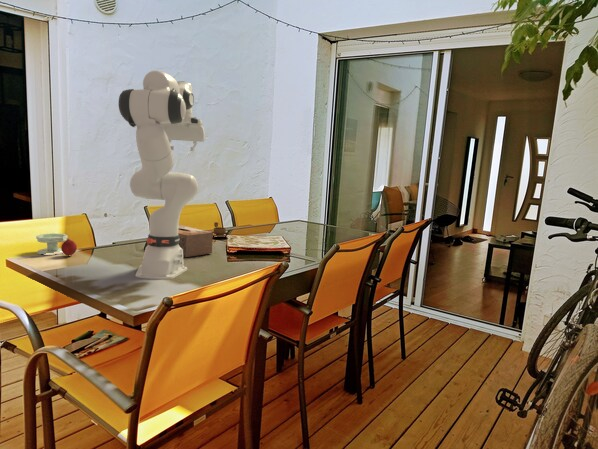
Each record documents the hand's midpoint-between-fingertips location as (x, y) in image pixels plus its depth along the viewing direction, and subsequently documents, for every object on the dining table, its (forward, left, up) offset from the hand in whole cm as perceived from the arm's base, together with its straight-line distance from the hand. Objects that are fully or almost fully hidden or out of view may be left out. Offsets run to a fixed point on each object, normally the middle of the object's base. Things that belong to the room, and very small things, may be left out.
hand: (181, 150), depth 196 cm
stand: (-13, +52, -47) cm, 71 cm away
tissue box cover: (+6, 0, -48) cm, 48 cm away
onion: (-18, +42, -47) cm, 66 cm away
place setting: (+52, -13, -48) cm, 72 cm away
